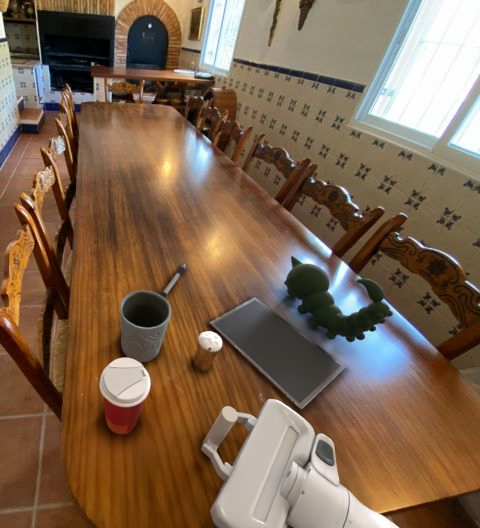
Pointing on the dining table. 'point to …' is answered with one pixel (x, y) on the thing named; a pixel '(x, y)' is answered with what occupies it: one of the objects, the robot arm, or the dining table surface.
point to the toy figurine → (322, 303)
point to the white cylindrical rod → (222, 425)
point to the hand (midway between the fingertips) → (214, 426)
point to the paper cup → (124, 393)
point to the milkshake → (207, 350)
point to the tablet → (278, 351)
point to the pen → (173, 281)
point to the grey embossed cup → (143, 324)
